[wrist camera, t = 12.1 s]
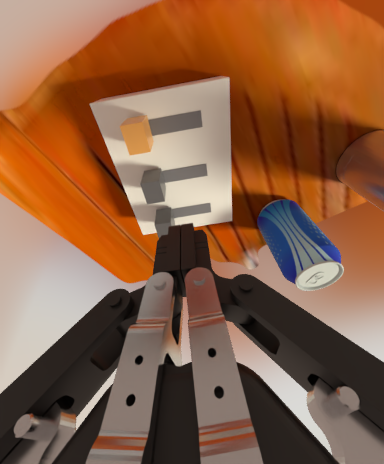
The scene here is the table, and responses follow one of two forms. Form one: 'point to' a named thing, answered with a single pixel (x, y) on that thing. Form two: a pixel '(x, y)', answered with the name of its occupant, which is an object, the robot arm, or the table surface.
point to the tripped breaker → (137, 135)
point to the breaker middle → (153, 186)
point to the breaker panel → (175, 149)
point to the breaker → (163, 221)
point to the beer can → (299, 246)
